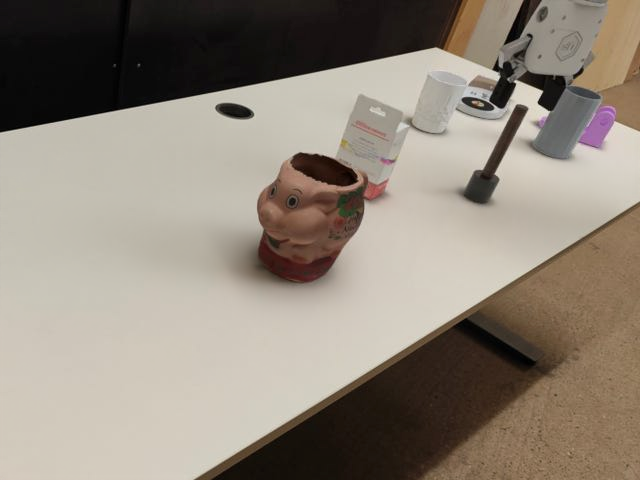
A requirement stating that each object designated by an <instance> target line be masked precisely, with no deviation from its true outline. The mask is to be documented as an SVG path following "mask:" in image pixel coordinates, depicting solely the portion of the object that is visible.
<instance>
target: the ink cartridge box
mask: <svg viewBox="0 0 640 480" xmlns="http://www.w3.org/2000/svg"><path fill="white" fill-rule="evenodd" d="M372 108H373V109H372ZM378 108H379V109H380V111H381V112H383V113H381V112H378V111H376V110H374V109H378ZM384 113H385V114H384ZM403 117H404V111H403V110H401V109H398V108H395V107H394V106H391V105H389V104H387V103H385V102H382V101H380V100H378V99H375V98H372V97H370V96H367V95H365V94H364V93H359V94H358V95H357V98H356V101H355V103H354V105H353V108H352V111H351V112H350V114H349V116H348V120H347V122H346V126H345V130H344V132H343V135H342V138H341V140H340V144H339V147H338V149H337V152H336V156H335V158H336V159H338V160H340V161H342V162H343V163H345V164H347V165H349V166H351V167H352V168H354V169H356V170H362V171H364V172H365V173H366V174H367V176H368V185H367V188H366V191H365V193H364V195H363V197H364V199H365V198H366V199H367V200H370V201H371V200H373V199H375V198H376V197H378V196H380V195H382V194H384V193H385V190H386V188H387V185H388V183H389V180H390V178H391V175H392V173H393V170H394V168H395V165H396V163H397V160H398V158H399V155H400V153H401V150H402V148H403V146H404V142H405V140H406V137H407V135H408V132H409V129H410V127H411V126H410V125H409V124H406V123H405V122H402V119H403Z"/></svg>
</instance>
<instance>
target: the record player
mask: <svg viewBox="0 0 640 480" xmlns="http://www.w3.org/2000/svg"><path fill="white" fill-rule="evenodd" d="M498 80H499V79H496V78H492V77H490V76H486V75H484V74H478V75H476V76H475V77H474V78H473V79H472V80H471V81H469V82H468V85H467V87H466V89H465V91H464V93H463V95H462V97H461V99H460V101H459V103H458V105H457V107H456V109H457V110H458V111H460V112H462V113H465V114H467V115H470V116H473V117H477V118H481V119H488V120H494V119H495V120H497V119H500V118H501V117H502V116H504V114H505V113H506V112H507V110H508V109H509V106H510V101H509V100H510V99H511V98H512V97H513V95H514V94H515V91H516V88H515V89H514V91H513V93H512V95H511V97H510V98H509V100H508V102H507V104H506V106H505V108H504V109H499V108H498V107H496V106H495V105H493V104H492V103H491V102H489V98H490V96H491V94H492V92H493V90H494V88H495V86H496V84H497V82H498Z"/></svg>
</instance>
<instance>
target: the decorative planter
mask: <svg viewBox="0 0 640 480" xmlns="http://www.w3.org/2000/svg"><path fill="white" fill-rule="evenodd" d="M367 185H368V176H367V174H366V173H365V172H364V171H362V170H356V169H354V168H352V167H351V166H349V165H347V164H345V163H343V162H342V161H340V160H338V159H336V157H333V156H330V155H329V156H328V155H324V154H322V153H316V152H315V153H314V152H301V151H299V152H296V153H295V154H293V155H292V156H290V157H289V158H288V159H286V160H284V161H283V162H282V164H281V166H280V169H279V172H278V174H277V176H276V178H275V180H274V181H273V182H271V183H270V184H268V185H267V186H266V187H264V188H263V190H262V191H261V192H260V194H259V195H258V198H257V202H256V212H257V215H258V216H257V217H258V222H259V224H260V225H261V227H262V229H263V231H262V235H261V237H260V241H259V245H258V248H257V255H258V258H259V261H260V262H261V263H262V264H263V266H265V267H266V268H267V269H268V270H270V271H271V272H272V273H274V274H276V275H278V276H280V277H283V278H285V279H287V280H290V281H293V282H298V283H299V282H300V283H302V282H303V283H304V282H305V283H307V282H312V281H316V280H318V279H320V278H321V277H323V276H325V275H326V274H327V273H328V272H329V270H330V269H331V268H332V267H333V266H334V264H335V262H336V260H337V259H338V258H339V256H340V255H341V252H342V251H343V249H344V248H345V247H346V245H347V244H348V242H349V241H350V240H352V238H353V237H354V236H355V234H357V231H358V230H359V229H360V227H361V225H362V222H363V219H364V215H365V205H366V204H365V197H363V195H364V193H365V191H366V188H367Z"/></svg>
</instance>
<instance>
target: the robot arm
mask: <svg viewBox="0 0 640 480" xmlns="http://www.w3.org/2000/svg"><path fill="white" fill-rule="evenodd" d="M608 1H609V0H541V1H540V2H539V4H538V6H537V7H536V9H535V11H534V12H533V14H532V15H531V17H530V19H529V20H528V22H527V24H526V25H525V27H524V29H523V30H522V33H521V34H520V37H519V38H517V39H515V40H513V41H510V42H508V43H506V44H504V45H502V46H501V47H499V50H498V61H497V64H496V65H497V68H498V72H497V73H498V74H497V75H498V76H499V78H498V79H497V80H498V82H497V84H496V86H495V88H494V90H493V92H492V94H491V96H490V98H489V102H491V103H492V104H493V105H495V106H496V107H498V108H499V109H504V108H505V106H506V104H507V102H508V101H509V100H510V99H511V98H512V97H511V95H512V93H513V91H514V89H515V90H516V86H517V83H516V82H515V81H517V80H518V79H519V78H521V77H522V76H523V75H524V74H525V73H527V72H530V73H531V74H537V75H548V76H553V77H554V78H549V80H548V81H547V83H546V85H545V86H544V89H543V90H542V93H541V95H540V96H539V98H538V100H537V105H538V106H540V107H542V108H543V109H545V110H546V111H547V112H550V111H553V110H554V108H555V107H556V105H557V103H558V101H559V100H560V98H561V96H562V94H563V92H564V91H565V89H566V86H570V85H573V83H574V80H576V79H577V78H578V77H580V76H581V75H582V74H583V73H584V71H585V69H587V68H588V67H589V66H590V65H591V64H592V63H593V62H594V61H595V59H596V56H595V54H594V53H593V52H592V48H593V46H594V44H595V42H596V40H597V38H598V36H599V33H600V31H601V28H602V27H603V24H604V21H605V19H606V17H607V13H608V9H609V7H610V5H609V3H608ZM516 67H517V68H516ZM515 68H516V69H515ZM514 92H515V91H514ZM513 94H514V93H513ZM512 96H513V95H512ZM510 97H511V98H510ZM509 98H510V99H509Z"/></svg>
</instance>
